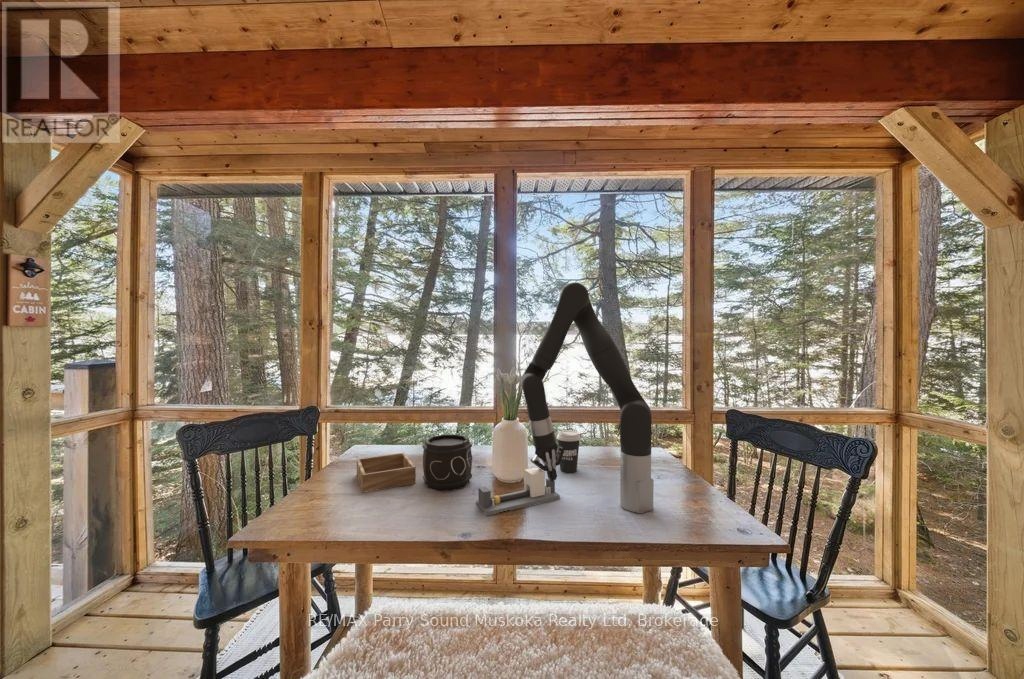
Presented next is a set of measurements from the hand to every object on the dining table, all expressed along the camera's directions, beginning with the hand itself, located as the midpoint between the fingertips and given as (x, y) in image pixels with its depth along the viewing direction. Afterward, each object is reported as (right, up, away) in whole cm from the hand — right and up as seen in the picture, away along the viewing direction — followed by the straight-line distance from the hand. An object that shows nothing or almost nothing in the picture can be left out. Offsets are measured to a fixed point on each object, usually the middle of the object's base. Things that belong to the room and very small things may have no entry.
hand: (553, 479), depth 134 cm
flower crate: (-61, -5, +14) cm, 63 cm away
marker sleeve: (-6, -4, -3) cm, 8 cm away
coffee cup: (+8, -5, +23) cm, 25 cm away
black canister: (-37, -5, +11) cm, 39 cm away
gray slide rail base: (-12, -5, -6) cm, 14 cm away
